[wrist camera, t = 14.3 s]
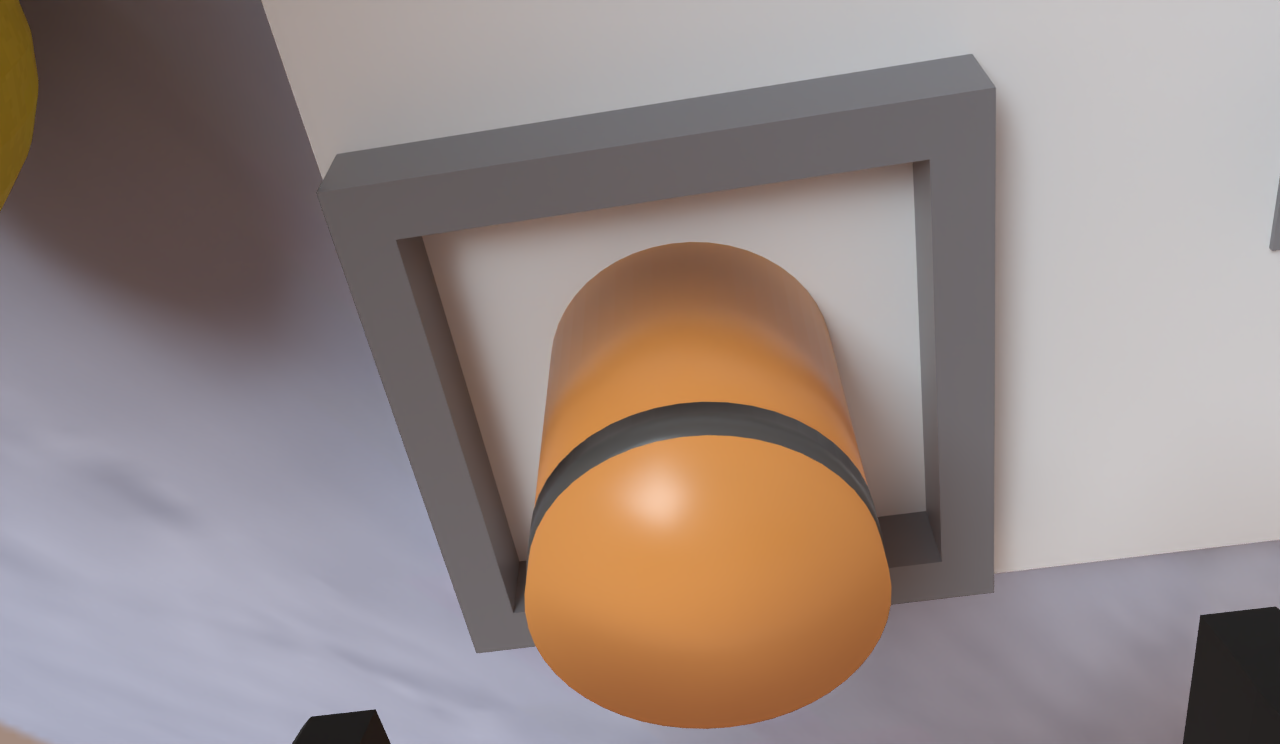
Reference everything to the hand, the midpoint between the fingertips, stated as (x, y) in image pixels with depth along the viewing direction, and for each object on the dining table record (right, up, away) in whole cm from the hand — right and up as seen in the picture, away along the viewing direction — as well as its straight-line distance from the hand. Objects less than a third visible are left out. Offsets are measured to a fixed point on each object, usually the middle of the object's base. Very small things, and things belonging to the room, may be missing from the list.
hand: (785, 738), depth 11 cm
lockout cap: (-1, +3, +7) cm, 8 cm away
